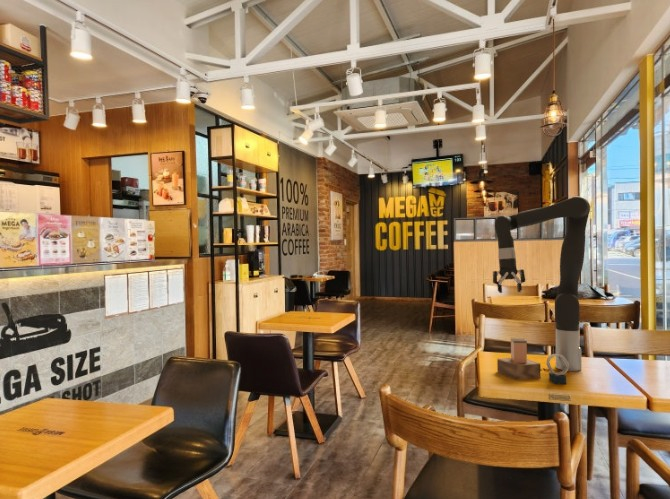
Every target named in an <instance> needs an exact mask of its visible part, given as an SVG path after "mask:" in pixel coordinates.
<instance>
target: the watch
mask: <svg viewBox="0 0 670 499" xmlns="http://www.w3.org/2000/svg"><path fill="white" fill-rule="evenodd" d="M556 356H559V360H560V362H561V363H562V364H563V365H564V367H565V369H564V370H561V371H559V372H554V370H553V367H552V366H551V362H550V361H551V360H552V358H555V357H556ZM546 366H547V369H548V371H549V373H548V380H549V382H551V383H553V384H554V385H567V375H565V374H566V373H567V372H568V371H567V370H568V369H569V363H568V361H567V360H566V359H565V357H564V356H563V355H559V354H556V353H552V354H550V355H549V356H548V357H547V358H546Z"/></svg>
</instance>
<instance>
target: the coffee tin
mask: <svg viewBox="0 0 670 499" xmlns="http://www.w3.org/2000/svg"><path fill="white" fill-rule="evenodd" d="M527 344H528V340H526V339H525V338H512V337H511V338H510V358H511V360H512V361H513V362H514V363H527V359H528V358H527V357H528V356H527V355H528V354H527V351H528V350H527V347H528V345H527Z"/></svg>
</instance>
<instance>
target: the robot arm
mask: <svg viewBox="0 0 670 499" xmlns="http://www.w3.org/2000/svg"><path fill="white" fill-rule="evenodd" d="M590 211H591V205H590V202H589V201H588V200H587V199H586V198H584V197H582V196H578V195H577V196H576V195H575V196H572V197H570V198H567V199H564V200H562V201H559V202H557V203H553V204H551V205H547V206H542V207H538V208H533V209H528V210H524V211H520V212H518V213H515V214H512V215H499V216H497V218H495V221H494V230H495V233H496V238H497V245H498V247H497V248H498V249H497V250H498V252H497V253H498V256H497V258H498V264H499V271H496V270H493V271H492V283H493V284H494V285H496V286H497V292H498V293H499V294H502V293H503V287H502V283H503V282H504V281H506V280H514V281H515V282H516V283H517V284H516V289H517V293H521V292H522V289H523V288H522V284H524V283H525V282H526V275H525V270H524V269H521V268H520V269H517V258H516V257H517V256H516V251H515V242H514V241H515V240H514V237H513V236H512V233H511V231H513V230H516V229H517V230H518V229H520V228H525V227H529V226H530V227H531V226H533V225H540V224H541V223H544V222H549V221H551V220H555V219H560V218H567V228H566V232H565V235H564V237H563V238H564V239H563V241H562V243H561V249H560V257H559V276H560V277H559V285H558V290H557V294H556V298H555V302H554V306H555V308H554V309H555V310H554V312H555V354H559V355H563V356H564V357H565V359H566V360H567V361H568V363H569V369H568V370H567V372H577V371H582V348H581V347H580V301H579V281H580V279H581V278H580V276H581V274H582V270H583V266H584V260H585V253H586V252H585V251H586V249H585V248H586V228H587V224H588V219H589V215H590ZM499 275H500V277H499V279H498V276H499ZM518 275H519V277H520V278H519V277H518ZM555 368H556V369H558V370H561V371H563V370H564V369H565V367H564V365H563V364H562V363H561V362H560V360H559V356H555Z"/></svg>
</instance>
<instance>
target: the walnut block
mask: <svg viewBox="0 0 670 499" xmlns="http://www.w3.org/2000/svg"><path fill="white" fill-rule="evenodd" d="M496 360H497V361H496V362H497V363H496V364H497V367H496V369H497V373H498V374H501V375H503V376H505V377H507V378H509V379H513V381H514V380H515V381H516V380H517V381H518V380H528V379H540V378H541V376H542V375H541V374H542V373H541V363H539V362H537V361H534V360H532V359H528V358H527V363H514V362H513V361H512V360H511V357H506V358H497V359H496Z"/></svg>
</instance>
